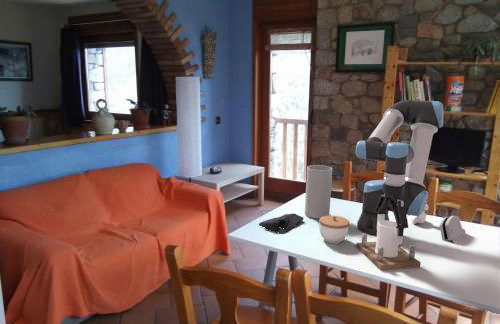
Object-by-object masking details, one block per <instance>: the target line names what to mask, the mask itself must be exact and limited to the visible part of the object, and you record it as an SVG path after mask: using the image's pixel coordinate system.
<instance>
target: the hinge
mask: <svg viewBox="0 0 500 324" xmlns="http://www.w3.org/2000/svg"><path fill="white" fill-rule="evenodd" d="M439 229H440V234H441V240H442V241H446V240H447V241H452V242H453V244H456V243H457V242H458V241H459V240H460V239H462V238H463V237H464V236H466V234H467V232H466V229H465V228H463V226H462V223H461V220H460V217H459V216H458V215H449V216H445V217H444V218H442V220H441V221H440V222H439Z"/></svg>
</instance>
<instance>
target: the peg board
mask: <svg viewBox="0 0 500 324" xmlns="http://www.w3.org/2000/svg"><path fill="white" fill-rule="evenodd" d="M355 245H356V246H355V247H356V249H357V250H358V251H359V252H360V253H362V255H364V256H365V257H366V258H367V259H368V260H369V261H370V262H371V264H373V265H374V266H375V267H376V268H377V269H378V270H379V271H386V270H387V271H389V270H403V269H420V268H421V263H422V262H421V261H419V259H417V258H416V249H417V247H416V245H413V244H410V245H409V252H408V251H406V250H404V248H402V247H401V246H400V245H398V256H397V257H393V258H388V257H383V251H384V248H383V247H378V254H376V253H375V249H376V241H368V234H367V233H362V236H361V242H356V244H355Z"/></svg>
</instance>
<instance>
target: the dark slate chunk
mask: <svg viewBox="0 0 500 324" xmlns="http://www.w3.org/2000/svg"><path fill="white" fill-rule="evenodd" d="M304 219H305V218H304V217H303V216H300V215H298V214H296V213H285V214H283V215H281V216H277V217H273V218H270V219H265V220H263V221H261V222H259V223H258V226H262V227H265V228H266V229H268V230H267V231H269V230H271V231H270V232H272V231H275V232H274V233H277V232H279V234H284V233H286V232H288V231H290V230H292V229H293V228H294V227H296V226H297V225H298V224H300V223H301V222H302V221H303V220H304ZM295 225H296V226H295ZM262 227H261V228H262ZM279 227H281V228H279ZM265 228H264V229H265ZM283 228H284V229H283ZM291 228H292V229H291ZM266 229H265V230H266ZM276 231H277V232H276Z"/></svg>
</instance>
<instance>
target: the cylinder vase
mask: <svg viewBox="0 0 500 324" xmlns="http://www.w3.org/2000/svg"><path fill="white" fill-rule="evenodd" d="M332 179H333V167H331V166H328V165H323V164H313V165H307V167H306V180H305V182H306V183H305V184H306V185H305V202H304V215H306V217H308V218H311V219H316V220H317V219H320V218H321V217H323V216H330V213H331V212H330V211H331V210H330V209H331V198H332V197H331V195H332Z"/></svg>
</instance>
